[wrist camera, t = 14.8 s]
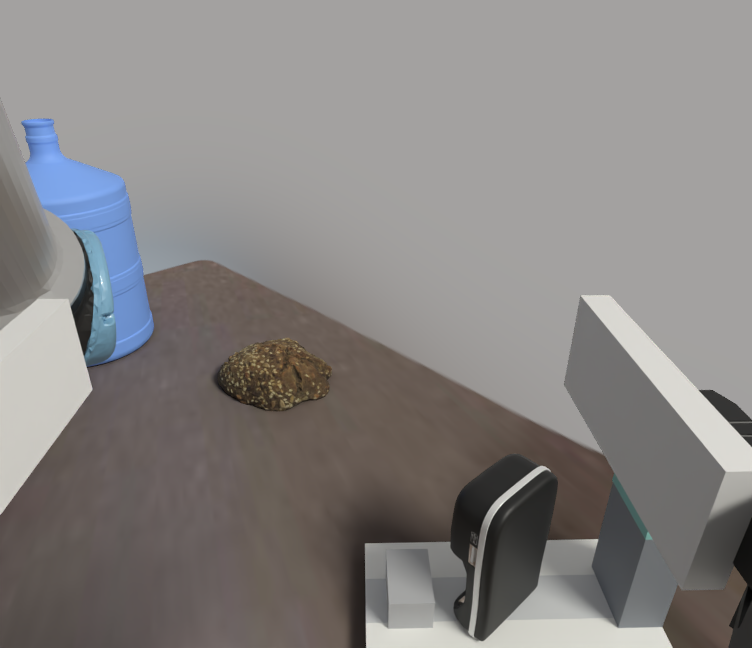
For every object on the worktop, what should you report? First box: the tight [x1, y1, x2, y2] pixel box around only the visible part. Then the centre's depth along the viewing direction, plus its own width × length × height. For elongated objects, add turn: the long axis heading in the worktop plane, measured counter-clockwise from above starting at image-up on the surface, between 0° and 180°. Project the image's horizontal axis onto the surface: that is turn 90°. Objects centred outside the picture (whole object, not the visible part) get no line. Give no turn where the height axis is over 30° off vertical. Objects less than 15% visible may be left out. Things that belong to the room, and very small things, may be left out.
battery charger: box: [450, 454, 558, 641], centre depth 38 cm, size 7×4×11 cm, turn 132°
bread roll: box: [218, 338, 332, 411], centre depth 67 cm, size 13×12×5 cm
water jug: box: [21, 119, 154, 367], centre depth 70 cm, size 16×16×28 cm
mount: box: [365, 473, 678, 648], centre depth 38 cm, size 10×20×12 cm, turn 91°
